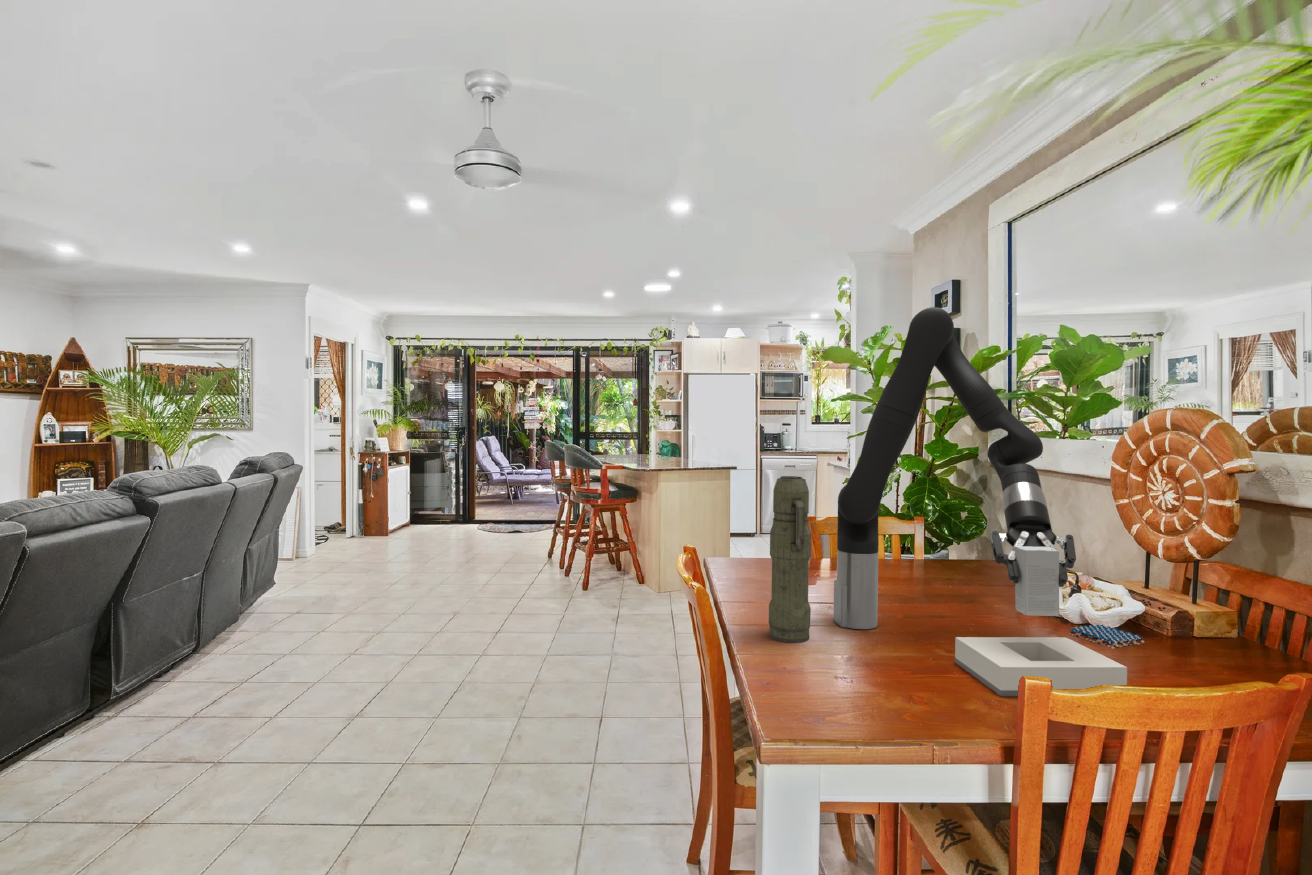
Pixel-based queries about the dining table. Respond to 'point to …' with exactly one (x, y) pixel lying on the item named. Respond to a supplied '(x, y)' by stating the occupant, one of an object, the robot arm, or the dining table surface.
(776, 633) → the thermos
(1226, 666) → the dining table surface
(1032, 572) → the skincare box
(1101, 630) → the woven mat
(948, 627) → the dining table surface
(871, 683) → the dining table surface
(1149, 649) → the dining table surface
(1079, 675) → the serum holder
